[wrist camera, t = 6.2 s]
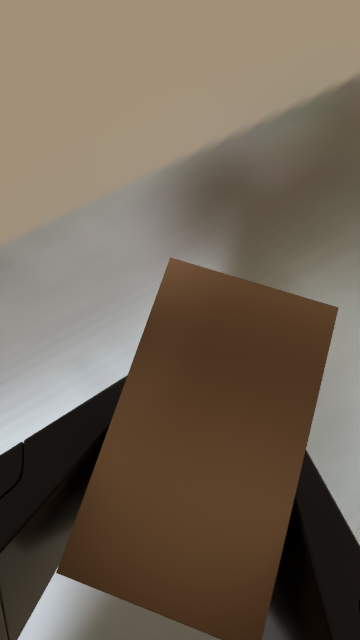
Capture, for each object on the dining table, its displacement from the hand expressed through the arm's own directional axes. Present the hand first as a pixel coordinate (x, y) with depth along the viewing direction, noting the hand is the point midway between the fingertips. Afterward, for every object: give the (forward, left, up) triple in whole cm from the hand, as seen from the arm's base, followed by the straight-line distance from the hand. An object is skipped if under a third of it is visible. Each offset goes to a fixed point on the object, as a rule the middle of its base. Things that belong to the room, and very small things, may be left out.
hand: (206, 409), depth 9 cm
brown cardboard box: (0, 0, -7) cm, 7 cm away
